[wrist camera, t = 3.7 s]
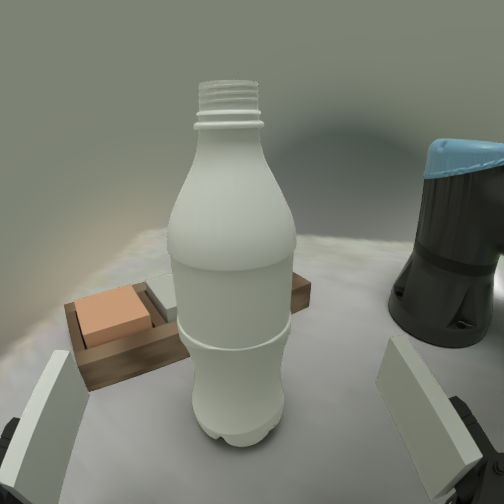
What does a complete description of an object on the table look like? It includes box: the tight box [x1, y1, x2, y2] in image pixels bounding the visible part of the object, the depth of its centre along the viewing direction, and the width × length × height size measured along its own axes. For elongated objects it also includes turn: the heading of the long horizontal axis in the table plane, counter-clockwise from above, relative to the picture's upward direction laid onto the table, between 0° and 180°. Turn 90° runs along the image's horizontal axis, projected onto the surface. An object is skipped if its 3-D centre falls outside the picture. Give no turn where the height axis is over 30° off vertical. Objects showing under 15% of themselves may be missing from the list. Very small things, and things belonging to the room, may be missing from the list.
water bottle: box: [167, 80, 296, 447], centre depth 20 cm, size 7×7×25 cm
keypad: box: [64, 272, 311, 392], centre depth 38 cm, size 28×12×4 cm, turn 125°
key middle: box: [145, 273, 178, 323], centre depth 37 cm, size 7×7×3 cm
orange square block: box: [74, 284, 153, 349], centre depth 32 cm, size 7×7×3 cm
